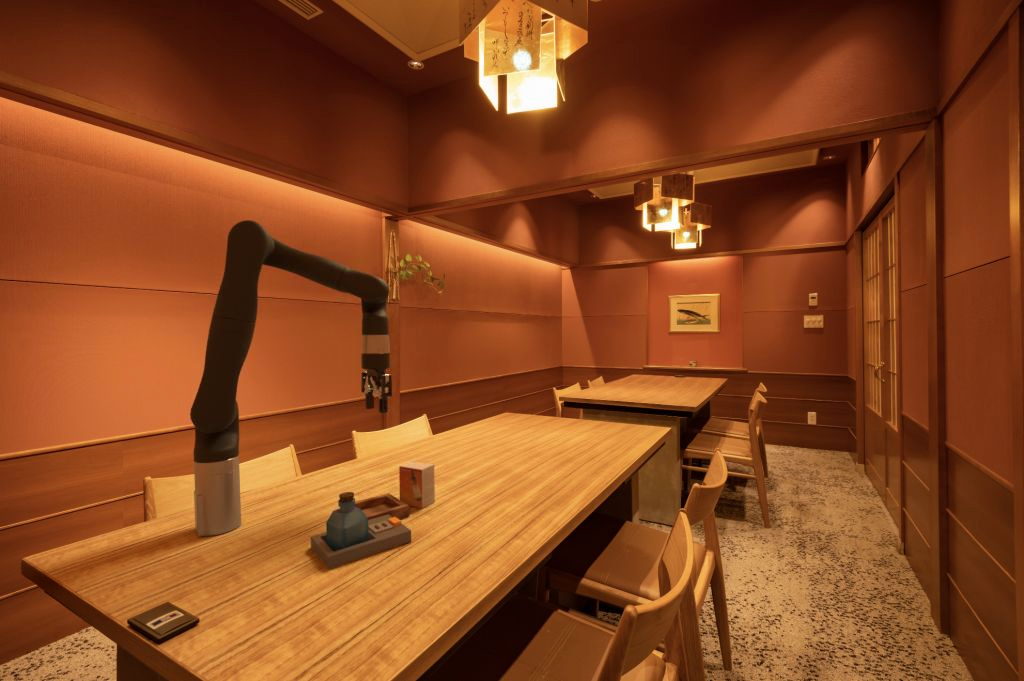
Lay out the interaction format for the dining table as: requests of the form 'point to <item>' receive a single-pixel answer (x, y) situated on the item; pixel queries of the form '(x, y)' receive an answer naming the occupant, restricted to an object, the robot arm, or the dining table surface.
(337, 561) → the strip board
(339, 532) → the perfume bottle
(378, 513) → the walnut tray
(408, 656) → the dining table surface
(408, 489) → the small box
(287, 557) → the dining table surface
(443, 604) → the dining table surface
